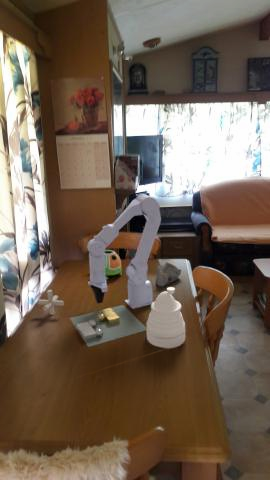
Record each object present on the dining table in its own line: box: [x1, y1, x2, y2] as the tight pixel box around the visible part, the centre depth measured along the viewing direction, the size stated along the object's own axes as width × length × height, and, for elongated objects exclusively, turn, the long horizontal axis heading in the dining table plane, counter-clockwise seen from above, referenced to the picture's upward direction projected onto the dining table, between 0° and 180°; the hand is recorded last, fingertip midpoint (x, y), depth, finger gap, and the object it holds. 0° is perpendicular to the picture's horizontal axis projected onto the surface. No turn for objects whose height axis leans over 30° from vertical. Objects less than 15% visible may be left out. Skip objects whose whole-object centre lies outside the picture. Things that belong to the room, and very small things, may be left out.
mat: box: [69, 304, 147, 348], centre depth 130 cm, size 22×22×1 cm
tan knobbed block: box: [98, 307, 120, 325], centre depth 133 cm, size 9×6×2 cm
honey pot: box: [145, 286, 186, 349], centre depth 117 cm, size 13×13×18 cm
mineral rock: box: [155, 262, 182, 287], centre depth 163 cm, size 13×11×10 cm
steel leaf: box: [76, 320, 103, 343], centre depth 124 cm, size 9×6×2 cm
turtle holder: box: [104, 249, 123, 280], centre depth 177 cm, size 12×18×12 cm
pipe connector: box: [37, 289, 65, 316], centre depth 138 cm, size 10×10×10 cm
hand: (99, 302), depth 141 cm, fingers closed
